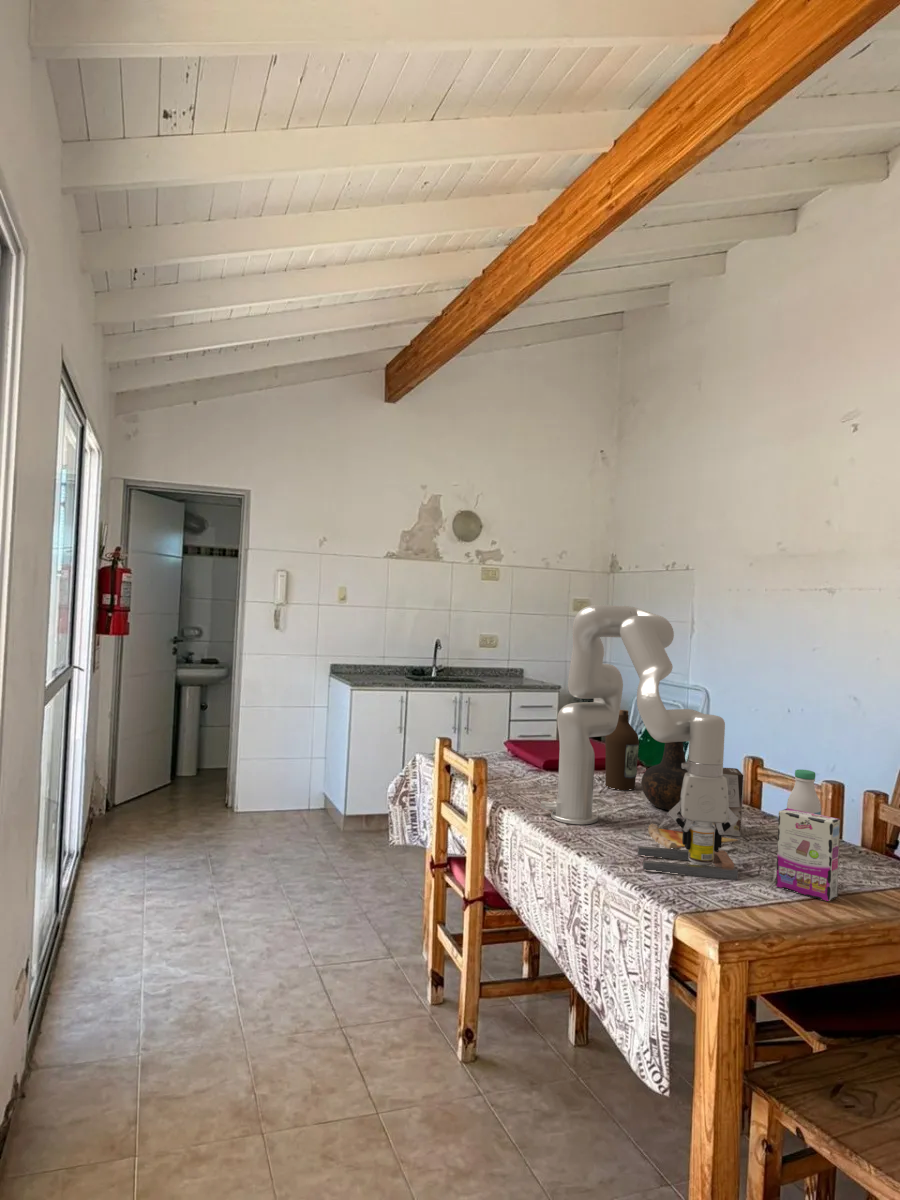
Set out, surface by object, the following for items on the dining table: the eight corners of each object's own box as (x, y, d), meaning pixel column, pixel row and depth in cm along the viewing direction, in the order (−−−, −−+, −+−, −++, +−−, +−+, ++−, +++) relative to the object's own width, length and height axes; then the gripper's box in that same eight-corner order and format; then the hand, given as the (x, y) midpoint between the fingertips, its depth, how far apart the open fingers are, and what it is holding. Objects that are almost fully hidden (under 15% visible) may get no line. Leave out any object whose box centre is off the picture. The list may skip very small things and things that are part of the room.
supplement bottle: (693, 856, 180) (696, 811, 180) (717, 862, 177) (719, 817, 177) (683, 861, 176) (686, 816, 176) (707, 867, 172) (710, 821, 172)
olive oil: (596, 786, 252) (600, 709, 252) (615, 782, 260) (618, 707, 260) (624, 793, 245) (628, 713, 245) (643, 788, 252) (646, 711, 252)
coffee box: (741, 837, 202) (744, 775, 202) (715, 834, 203) (718, 772, 203) (735, 827, 211) (738, 767, 211) (711, 824, 212) (713, 765, 212)
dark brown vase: (693, 801, 238) (697, 709, 238) (711, 817, 220) (715, 718, 220) (634, 798, 239) (638, 707, 239) (647, 813, 221) (652, 715, 221)
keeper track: (643, 871, 172) (644, 858, 172) (637, 854, 184) (638, 841, 184) (737, 879, 169) (738, 866, 169) (725, 861, 181) (725, 848, 181)
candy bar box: (838, 897, 161) (841, 818, 161) (829, 903, 158) (833, 822, 158) (784, 881, 169) (787, 806, 169) (774, 887, 166) (777, 810, 166)
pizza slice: (737, 861, 184) (738, 852, 184) (641, 847, 191) (642, 839, 191) (737, 843, 198) (737, 835, 198) (648, 830, 206) (648, 822, 206)
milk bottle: (804, 858, 186) (808, 775, 186) (777, 849, 193) (781, 768, 193) (826, 855, 190) (829, 773, 190) (798, 845, 197) (802, 766, 197)
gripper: (668, 770, 174) (664, 851, 174) (748, 776, 171) (744, 858, 171) (664, 763, 181) (660, 840, 181) (740, 768, 179) (736, 847, 179)
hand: (701, 848), depth 176 cm, fingers closed on supplement bottle, 5 cm apart
